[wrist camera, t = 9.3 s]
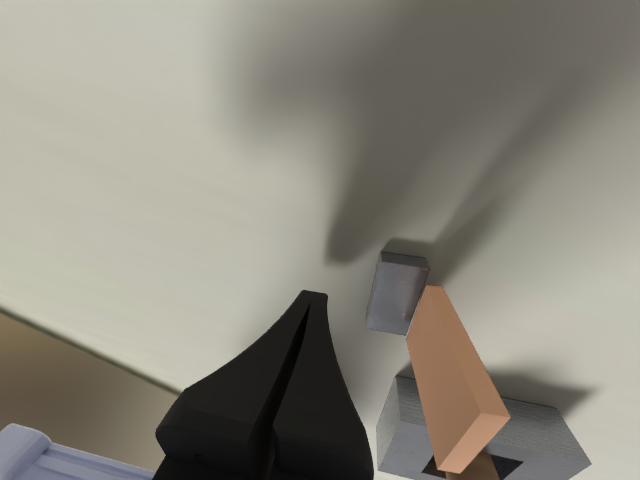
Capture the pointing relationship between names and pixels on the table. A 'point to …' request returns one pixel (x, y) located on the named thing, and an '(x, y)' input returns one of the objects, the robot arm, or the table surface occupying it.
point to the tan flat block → (452, 384)
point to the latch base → (395, 292)
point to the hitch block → (505, 447)
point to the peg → (476, 469)
